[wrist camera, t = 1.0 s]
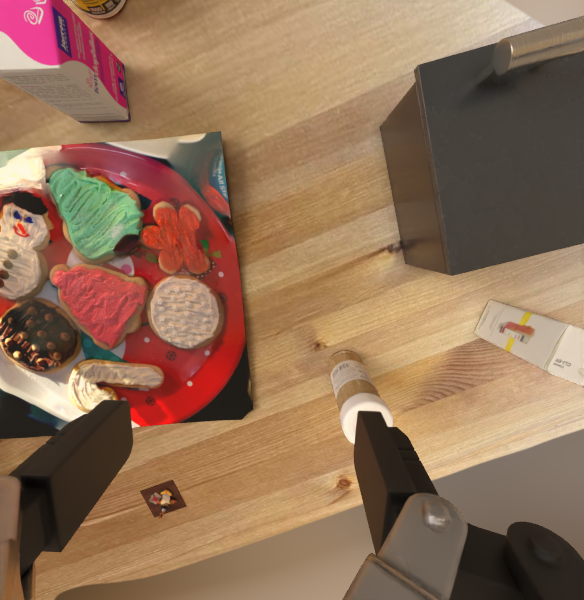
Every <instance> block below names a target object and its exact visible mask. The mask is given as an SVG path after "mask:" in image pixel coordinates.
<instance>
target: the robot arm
mask: <svg viewBox="0 0 584 600" xmlns="http://www.w3.org/2000/svg"><path fill="white" fill-rule="evenodd" d="M132 445H133V434H132V422H131V410H130V404H129V402H128V401H126V400H103V401H101V402H100V403H99V404H98V405H97V406H96V407H95V408H94V409H92V410H91V411H90V412H89V413H88V414H84V415H82V416H80V417H78V418H76V419H75V420H73V421H71V422H69V423H68V424H66V425H65V426H64V427H63V428H62V429H61V430H60V431H58V432H57V433H56V436H55V435H54V436H53V437H52V438H50V439H49V440H48V441H47V442H46V444H45V445H42V446H41V447H40V448H39V449H38V450H37V451H36V452H34V453H33V454H32V455H31V456H30V457H29V458H27V459H26V460H25V461H24V462H23V463H22V464H21V465H19V466H18V467H17V468H16V469H15V470H14V471H13V472H11V473H10V474H9V475H8V476H0V600H35V583H36V568H35V562H34V561H35V560H36V558H37V557H38V556H39V554H40V553H41V552H42V551H48V552H61V551H62V550H63V549H64V547H65V546H66V545H67V543H68V542H69V540H70V539H71V538H72V536H73V535H74V533H75V532H76V531H77V529H78V528H79V526H80V525H81V524H82V522H83V521H84V519H85V518H86V517H87V515H88V514H89V512H90V511H91V510H92V508H93V507H94V505H95V504H96V503H97V501H98V500H99V498H100V497H101V496H102V494H103V493H104V492H105V490H106V489H107V487H108V486H109V485H110V483H111V482H112V480H113V479H114V478H115V476H116V475H117V473H118V472H119V471H120V469H121V468H122V466H123V465H124V464H125V462H126V461H127V459H128V458H129V456H130V453H131V450H132ZM354 465H355V471H356V475H357V479H358V483H359V487H360V491H361V495H362V500H363V504H364V508H365V512H366V516H367V520H368V524H369V528H370V532H371V536H372V541H373V544H374V549H375V553H376V555H375V554H373V553H371V554H369V555H368V557H367V558H366V559H365V561H364V563H363V564H362V566H361V568H360V570H359V571H358V573H357V575H356V577H355V578H354V580H353V582H352V584H351V585H350V587H349V589H348V591H347V593H346V594H345V596H344V598H343V600H584V560H583V559H582V558H581V556H580V555H579V554H578V553H577V551H576V550H575V549H574V548H573V547H572V546H571V545H570V544H569V543H568V542H566V541H565V540H564V539H563V538H561V537H560V536H558V535H557V534H555V533H554V532H552V531H550V530H548V529H546V528H544V527H542V526H539V525H537V524H533V523H529V522H516V523H513V524H511V525H510V526H509V528H508V531H507V535H506V536H504V535H501V534H498V533H494V532H491V531H488V530H485V529H482V528H478V527H476V526H473V525H471V524H469V523H467V522H466V520H465V518H464V516H463V515H462V513H461V512H460V511H459V510H458V509H457V508H456V507H455V506H454V505H453V504H452V503H450V502H449V501H447V500H445V499H444V498H442V497H440V496H439V495H438V493H437V491H436V489H435V487H434V485H433V484H432V482H431V480H430V478H429V476H428V474H427V472H426V470H425V468H424V466H423V465H422V463H421V461H419V457H418V455H417V453H416V451H414V448H413V446H412V444H411V442H410V440H409V438H408V437H407V436H406V435H405V434H404V433H403V432H402V431H401V430H399V429H398V428H397V427H388V426H387V424H386V422H385V420H384V417H383V415H382V413H381V412H380V411H358V414H357V422H356V433H355V444H354Z"/></svg>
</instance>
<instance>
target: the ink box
mask: <svg viewBox="0 0 584 600" xmlns="http://www.w3.org/2000/svg"><path fill="white" fill-rule="evenodd" d="M474 334H475V335H476V336H478V337H480V338H482V339H484V340H486V341H488V342H490V343H492V344H494V345H496V346H498V347H500V348H501V349H503V350H505V351H507V352H509V353H511V354H513V355H515V356H517V357H519V358H521V359H523V360H525V361H527V362H529V363H530V364H532V365H534V366H536V367H538V368H540V369H542V370H544V371H546V372H549V373H550V374H551V375H554V376H557V377H560V378H562V379H564V380H567V381H571V382H574V383H576V384H579V385H581V386H583V387H584V329H583V328H580V327H577V326H574V325H571V324H568V323H565V322H562V321H559V320H556V319H553V318H549V317H546V316H543V315H540V314H537V313H534V312H531V311H527V310H524V309H521V308H517V307H514V306H511V305H507V304H504V303H501V302H497V301H494V300H489V302H488V304H487V306H486V308H485V310H484V312H483V314H482V316H481V318H480V321H479V323H478V325H477V327H476V330H475V332H474Z"/></svg>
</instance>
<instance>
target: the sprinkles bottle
mask: <svg viewBox="0 0 584 600" xmlns="http://www.w3.org/2000/svg"><path fill="white" fill-rule="evenodd" d="M328 373H329V376H330V378H331V381H332V387H333V391H334V395H335V398H336V401H337V404H338V408H339V411H340V422H341V426H342V429H343V432H344V434H345V436H346V438H347V439H348V440H349V441H350V442H351V443H353V444H355V433H356V422H357V414H358V411H380V412H381V413H382V415H383V417H384V420H385V422H386V424H387V426H388V427H393V425H394V421H393V417H392V414H391V412H390V410H389V408H388V406H387V404H386V403H385V402H384V400H382V399H381V398H380V396H379V394H378V391H377V389H376V387H375V385H374V384H373V382H372V380H371V378H370V376H369V374H368V372H367V371H366V369H365V367H364V366H363V363H362V361H361V359H360V357H359V356H358V355H357V354H356V353H354V352H352V351H340V352H337V353H336V354H334V355H333V356H332V357H331V358H330V360H329V362H328Z"/></svg>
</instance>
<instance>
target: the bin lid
mask: <svg viewBox="0 0 584 600" xmlns="http://www.w3.org/2000/svg"><path fill="white" fill-rule="evenodd" d="M414 72H415V78H416V84H417V91H418V97H419V103H420V109H421V115H422V121H423V128H424V134H425V140H426V146H427V152H428V158H429V165H430V171H431V177H432V183H433V189H434V195H435V202H436V208H437V214H438V220H439V226H440V232H441V238H442V245H443V251H444V257H445V263H446V269H447V274H448V275H451V276H453V275H457V274H461V273H465V272H469V271H473V270H477V269H481V268H485V267H489V266H493V265H497V264H501V263H505V262H509V261H513V260H517V259H522V258H526V257H530V256H534V255H538V254H542V253H546V252H550V251H554V250H558V249H562V248H566V247H570V246H574V245H578V244H582V243H584V16H581V17H578V18H574V19H571V20H567V21H563V22H560V23H557V24H553V25H550V26H546V27H542V28H539V29H535V30H532V31H528V32H525V33H521V34H518V35H514V36H511V37H507V38H504V39H502V40H501V41H500V42H498V43H495V44H491V45H488V46H484V47H480V48H477V49H473V50H470V51H466V52H463V53H459V54H456V55H452V56H449V57H445V58H442V59H438V60H435V61H431V62H428V63H424V64H421V65H418V66H417V67H416V69H415V70H414Z"/></svg>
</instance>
